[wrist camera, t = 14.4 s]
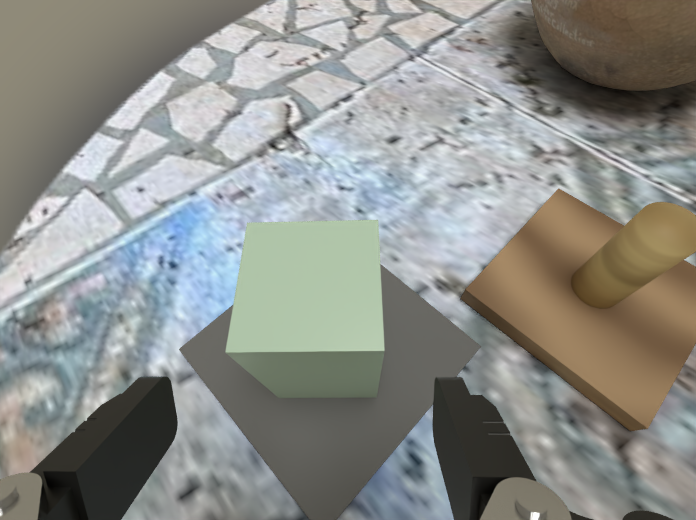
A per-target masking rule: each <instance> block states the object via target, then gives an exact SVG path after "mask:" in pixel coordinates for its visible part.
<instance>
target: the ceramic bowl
mask: <svg viewBox="0 0 696 520" xmlns="http://www.w3.org/2000/svg"><path fill="white" fill-rule="evenodd" d="M531 2H532V7H533V12H534V16H535V20H536V23H537V27H538V30H539V33H540V36H541V38H542V41H543V43H544V45H545V46H546V47H547V49H548V50H549V52H550V53H551V54H552V56H553V57H554V58H555V60H556V61H557V62H558V63H559V64H560V65H561V66H562V67H563V68H564V69H565V70H567V71H568V72H570V73H571V74H573V75H574V76H576V77H578V78H580V79H582V80H584V81H587V82H589V83H592V84H594V85H599V86H603V87H608V88H614V89H620V90H629V91H643V90H657V89H664V88H669V87H673V86H677V85H680V84H685V83H689V82H692V81H696V0H531Z"/></svg>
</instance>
